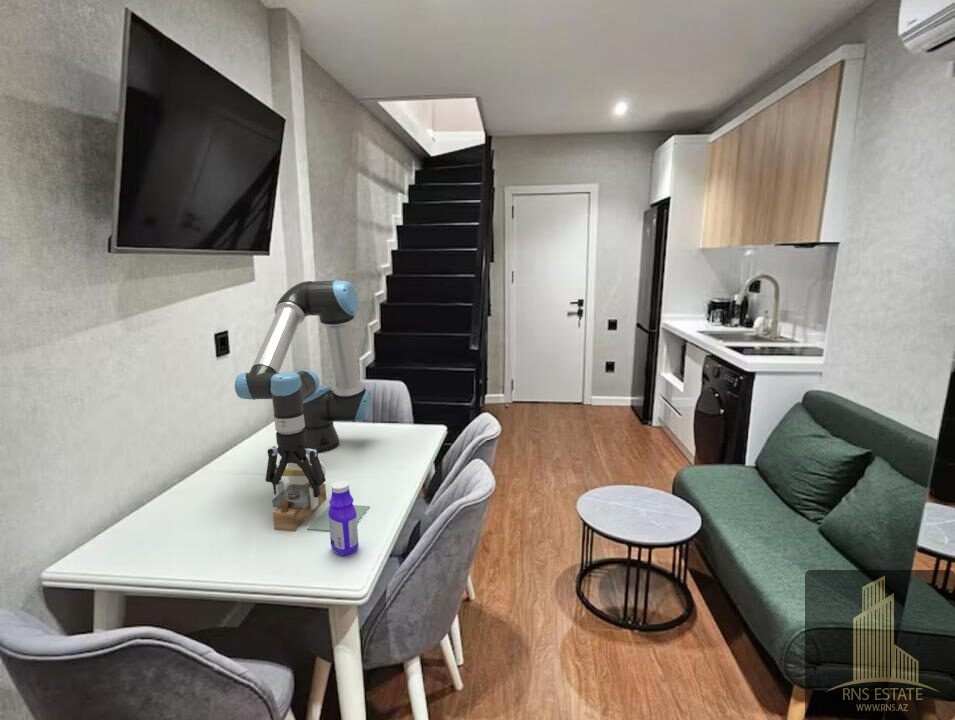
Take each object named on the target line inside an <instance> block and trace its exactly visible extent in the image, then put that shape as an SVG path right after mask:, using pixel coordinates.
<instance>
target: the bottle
mask: <svg viewBox="0 0 955 720" xmlns="http://www.w3.org/2000/svg"><path fill="white" fill-rule="evenodd" d="M328 503H329V505H330V508H329V512H328V515H329V526H330V532H329V536H330V537H329V539H330V546H331V548H332V550H333V552H335V553H336V554H338V555H341V556H348V555H350V554H352V553H355V552H356V551H357V550H358V548H359V534H358V533H359V532H358V530H359V529H358V523H357V516H356V510H355V507H354V505H355V504H354V497H353V496H352V494H351V491H350V484H349V482H348V481H346V480H338V481H336V482H334V483H332V484H331V497H330V499H329V502H328Z"/></svg>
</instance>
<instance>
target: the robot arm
mask: <svg viewBox="0 0 955 720" xmlns="http://www.w3.org/2000/svg"><path fill="white" fill-rule="evenodd" d="M358 312H359V298H358V294H357V291H356V289H355V287H354V285H353V284H352V283H351V282H350V281H347V280H339V279H338V280H337V279H336V280H317V281H316V280H314V281H313V280H308V281H302V282H299V283H297V284H294V285H293V286H292V287H290V288H289V289H288V290H287V291H286V292H285V293H284V294H282V296H281V297H280V298H279V300H278V301H277V303H276V306H275V307H274V314H275V316H274V318H273V320H272V322H271V324H270V327H269V329H268V331H267V333H266V336H265V337H264V339H263V342H262V344H261V347H260V348H259V351H258V353H257V356H256V358H255V360H254V362H253V364H252V366H251V368H250V370H249V372H243V373H240V374H238V375H237V376H236V377H235V381H234V391H235V394H236V395H237V396H238V398H239V399H243V400H272V407H273V409H272V410H273V416H274V417H273V418H274V427H275V431H276V433H275V437H276V438H275V440H276V445H277V447H276V446H272V447H270V448H268V450H267V451H266V452H267V457H268V458H267V459H268V460H267V467H266V472H265V473H266V475H265V482H266V483H271V484H272V489H273V494H274V495H276V497H277V496H278V495H279V494H280V493H282V492H283V491H284V490H285V483H284V480H283V481H282V478H283V476H282V475H283V473H284V470H285V468H287V467H288V464H287V463H294V464H297V465H298V466H299V467H301V469H302V471H303V472H304V474H305V476H306V477H307V479H308V481H309V482H310V484H311V486H310V487H309V491H310V502H311V510H314V509H315V508H316V507H317V506H318V496H319V495H320V487H319V486H320V485H322V484H325V483H326V480H327V479H326V477H325V476H326V475H325V476H324V469H323V468H322V467H321V464H320V461H321V460H320V459H319V454H321V453H322V454H323V453H326V452H331V451H333V450H335V449H337V448H338V447H339V446H340V443H341V442H340V437H339V435H338V432H337V429H336V428H335V425H334V422H359V421H365V420H367V418H368V417H369V415H370V411H371V408H372V400H373V399H372V397H373V395H372V392H371V390H369V389H366V388H365V387H366V386H365V383H364V382H362V381H361V380H360V375H359V374H360V373H359V368H358V361H357V360H358V359H357V355H356V354H357V353H356V349H355V348H356V347H355V341H354V335H353V328H352V322H353V320H355V315H357V314H358ZM308 316H313V317H314V316H318V317H319V321H320V324H322V325H323V326H325V329H326V337H327V339H328V340H327V341H328V347H329V351H330V352H329V353H330V357H331V364H332V369H333V375H334V381H335V385H334V387H333V388H331V386H330V385H327V384H326V385H324V384H323V385H320V378H319V376H318V374H317V373H316V372H314V371H313V370H309V369H303V370H298V371H297V372H294V371H290V372H289V371H287V372H286V371H284V372H280V371H281V368H282V365H283V363H284V360H285V358H286V355H287V354H288V351H289V348H290V346H291V344H292V342H293V340H294V339H293V338H294V337H295V333H296V331H297V329H298V326H299V324H301V323H303V322H304V320H305V318H306V317H308ZM312 449H313V450H312ZM306 454H308V458H310V463H311V466H312V467H311V466H310V464H309V462H308V458H307V457H306ZM278 455H279V456H280V460H279V462H278V465H277V461H278ZM302 460H303V461H302ZM319 460H320V461H319ZM301 461H302V462H301ZM276 465H277V471H276V473H275V469H276Z"/></svg>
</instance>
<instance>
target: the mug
mask: <svg viewBox="0 0 955 720" xmlns="http://www.w3.org/2000/svg"><path fill="white" fill-rule="evenodd" d="M312 450H313V449H312ZM306 457H307V458H308V454H306ZM309 460H310V458H308V461H309ZM302 461H303V460H302ZM302 461H301V462H302ZM319 461H320V464H321V467H322V470H323V473H324V476H326V467H325V465H324V463H323V462H322V461H321V460H320V459H319ZM287 468H301V467H299V466H298V465H297V464H294V463H287ZM288 482H289V483H288V484H289V486H290V485H291V484H297V485H304V484H306V483H309V481H308V479H307V477H306V476H288Z"/></svg>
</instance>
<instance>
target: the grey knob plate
mask: <svg viewBox="0 0 955 720" xmlns="http://www.w3.org/2000/svg"><path fill="white" fill-rule="evenodd" d="M310 486H311V485H297V484H291V485H290V484H289V485H288V486H287V488H284V491H283V492H282V493H280V494H279V495H278V496H277V495H276V496H275V497H274V498H273V499H272V500H271V504H272V505H271V506H272V508H275V509H277V508H281V505H280V501H281V500H283V499H287V502H288V508H289V509H302V510H303V509H304V508H305V507H306V506H308V505H309V504H310V503H311V502H310V491H309V487H310ZM319 487H320V493H321V486H319Z"/></svg>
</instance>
